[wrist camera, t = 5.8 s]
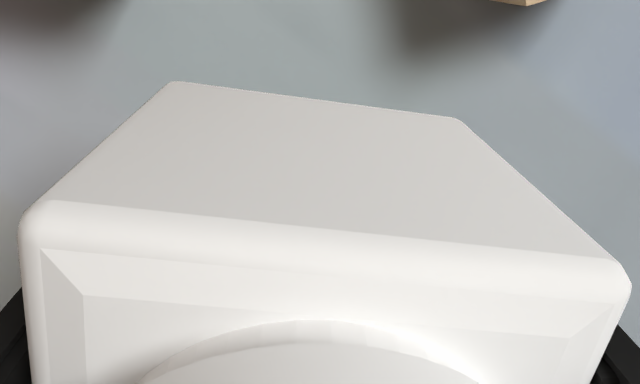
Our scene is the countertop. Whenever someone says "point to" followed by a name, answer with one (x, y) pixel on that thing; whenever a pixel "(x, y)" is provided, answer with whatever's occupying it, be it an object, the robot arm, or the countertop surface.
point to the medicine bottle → (306, 254)
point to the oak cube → (520, 2)
